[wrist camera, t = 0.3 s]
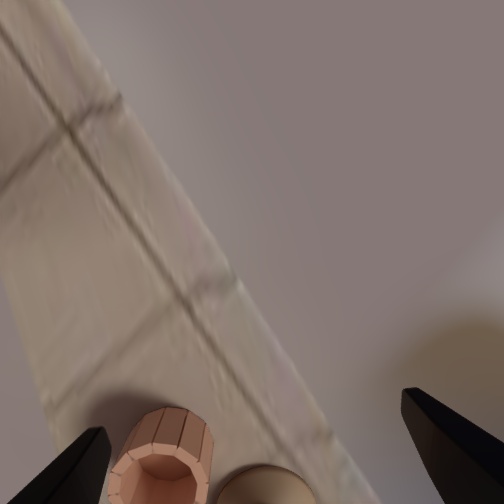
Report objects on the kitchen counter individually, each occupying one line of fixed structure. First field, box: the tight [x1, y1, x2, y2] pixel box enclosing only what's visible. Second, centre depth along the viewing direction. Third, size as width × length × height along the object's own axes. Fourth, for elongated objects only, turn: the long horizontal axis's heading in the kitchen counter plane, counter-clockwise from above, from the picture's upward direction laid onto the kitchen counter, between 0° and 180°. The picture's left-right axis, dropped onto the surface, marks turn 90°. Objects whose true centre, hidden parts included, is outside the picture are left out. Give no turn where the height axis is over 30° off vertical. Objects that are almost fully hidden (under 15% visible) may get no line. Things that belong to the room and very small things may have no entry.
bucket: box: [108, 407, 214, 504], centre depth 23 cm, size 7×7×4 cm
